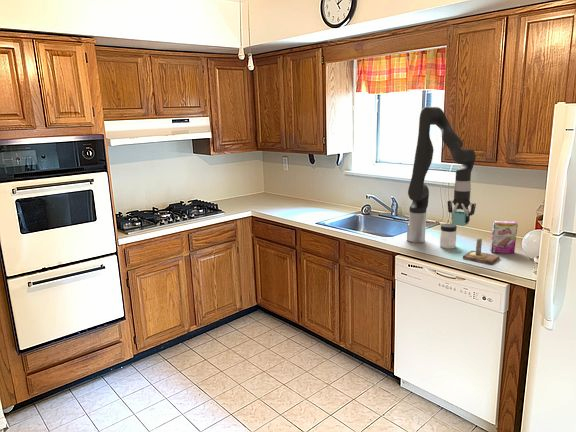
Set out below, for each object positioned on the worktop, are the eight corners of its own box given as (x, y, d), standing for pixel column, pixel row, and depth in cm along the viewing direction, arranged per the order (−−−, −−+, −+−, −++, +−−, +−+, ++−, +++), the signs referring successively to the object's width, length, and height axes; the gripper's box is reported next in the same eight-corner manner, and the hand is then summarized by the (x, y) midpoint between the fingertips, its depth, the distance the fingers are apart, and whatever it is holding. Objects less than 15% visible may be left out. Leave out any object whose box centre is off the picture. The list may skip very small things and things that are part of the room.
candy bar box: (491, 253, 228) (494, 222, 225) (489, 250, 233) (492, 220, 229) (514, 254, 226) (518, 223, 222) (512, 251, 230) (515, 221, 226)
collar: (451, 224, 223) (452, 212, 221) (456, 222, 227) (457, 210, 225) (463, 226, 219) (464, 214, 217) (468, 223, 223) (469, 212, 221)
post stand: (462, 258, 221) (464, 239, 219) (471, 253, 229) (472, 234, 227) (491, 264, 212) (493, 244, 210) (499, 258, 220) (501, 239, 217)
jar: (444, 249, 236) (446, 227, 233) (436, 245, 244) (437, 224, 241) (459, 247, 239) (460, 226, 236) (449, 243, 246) (451, 222, 243)
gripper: (445, 189, 221) (443, 221, 225) (473, 192, 211) (471, 225, 215) (451, 187, 226) (449, 218, 230) (479, 189, 216) (477, 222, 220)
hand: (460, 221), depth 222 cm, fingers closed on collar, 6 cm apart
